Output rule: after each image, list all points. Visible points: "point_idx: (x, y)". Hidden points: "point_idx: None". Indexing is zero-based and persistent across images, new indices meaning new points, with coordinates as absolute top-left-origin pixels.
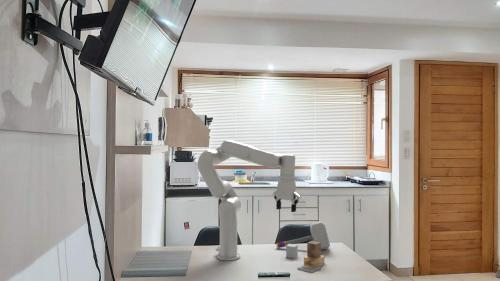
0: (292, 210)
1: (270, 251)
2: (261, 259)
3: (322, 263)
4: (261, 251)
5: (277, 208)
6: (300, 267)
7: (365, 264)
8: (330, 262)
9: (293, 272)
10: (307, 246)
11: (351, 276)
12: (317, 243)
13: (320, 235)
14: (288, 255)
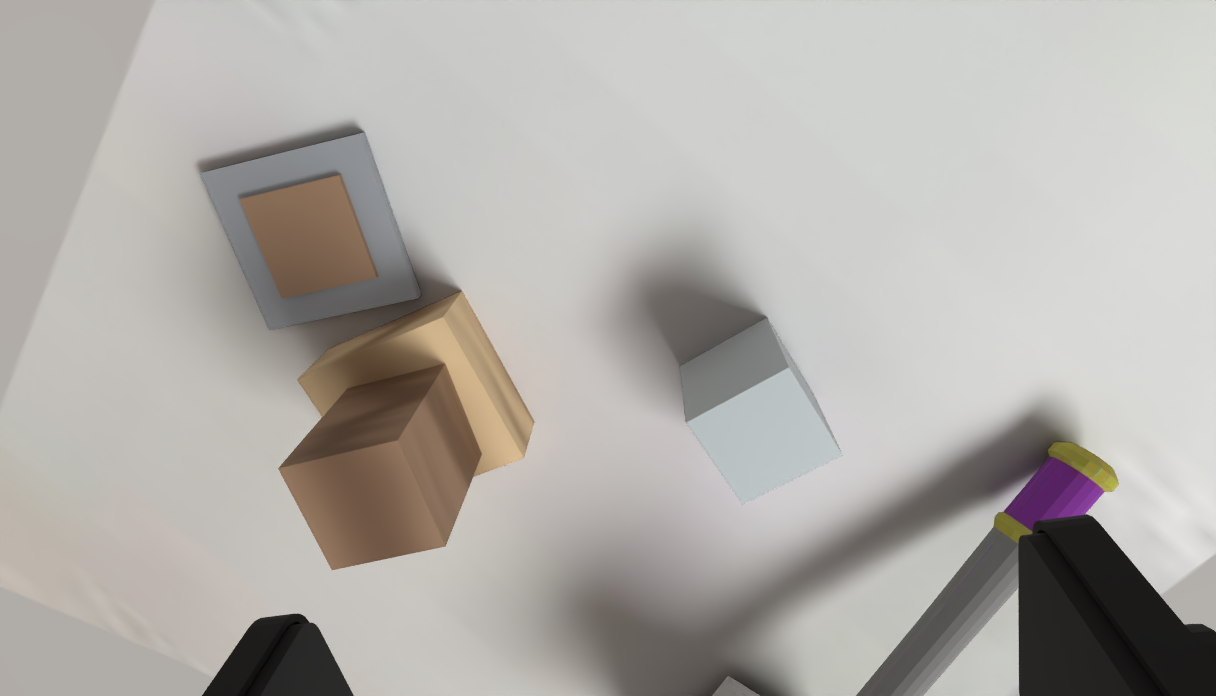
0: (241, 671)
1: (1049, 314)
2: (892, 9)
3: None
4: (1137, 228)
5: (1039, 548)
6: (359, 169)
7: None
8: None
9: (298, 16)
10: (408, 416)
11: (8, 387)
12: (305, 510)
13: None
14: (747, 337)
